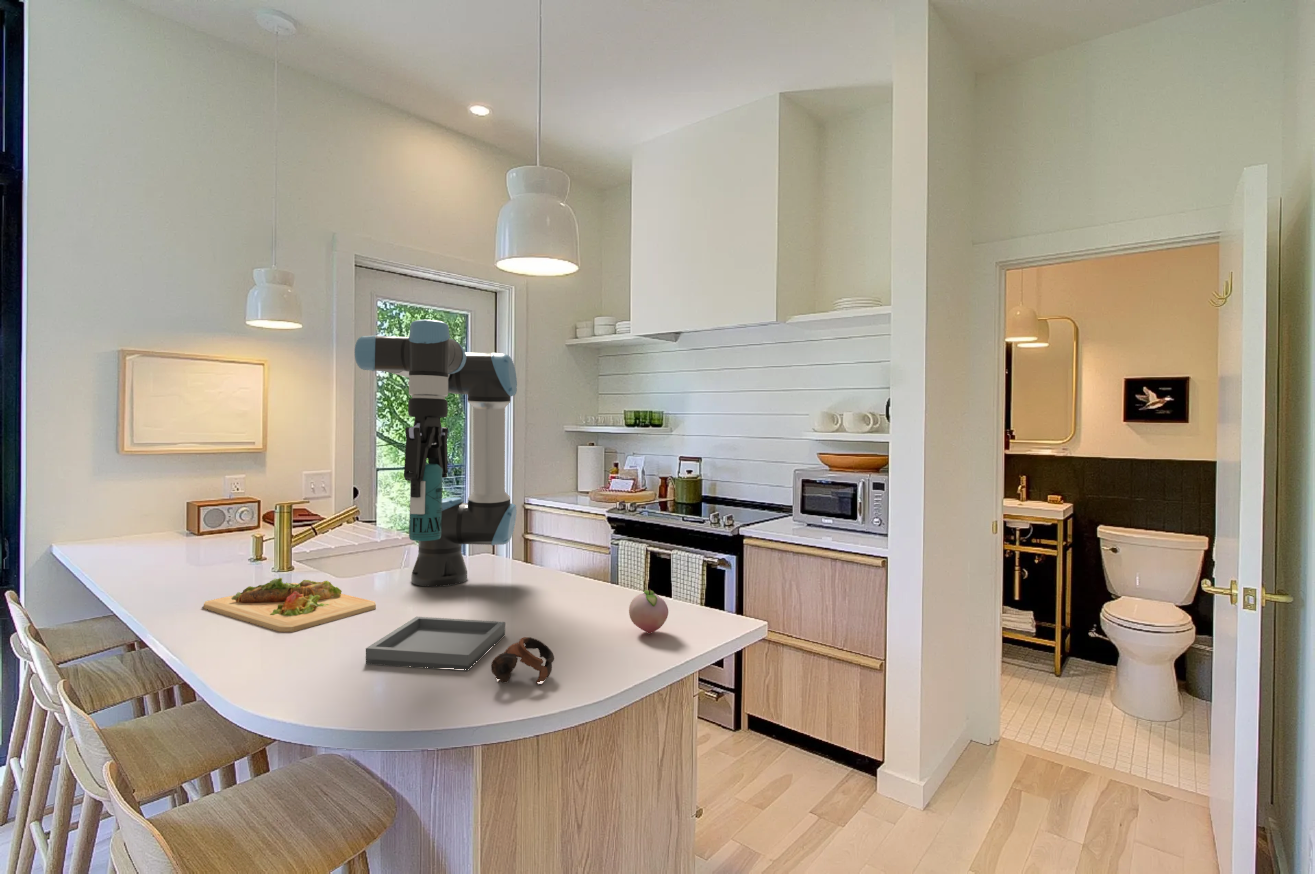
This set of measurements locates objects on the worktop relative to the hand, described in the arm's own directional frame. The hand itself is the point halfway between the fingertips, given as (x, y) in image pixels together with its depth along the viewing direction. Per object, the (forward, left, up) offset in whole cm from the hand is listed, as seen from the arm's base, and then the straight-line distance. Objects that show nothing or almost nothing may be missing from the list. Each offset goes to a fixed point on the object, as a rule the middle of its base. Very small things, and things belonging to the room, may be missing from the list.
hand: (426, 511), depth 132 cm
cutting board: (-19, -43, -28) cm, 55 cm away
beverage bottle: (0, 0, -7) cm, 7 cm away
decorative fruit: (-16, +44, -28) cm, 54 cm away
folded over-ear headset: (+14, +24, -28) cm, 40 cm away
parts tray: (+1, +4, -28) cm, 28 cm away
